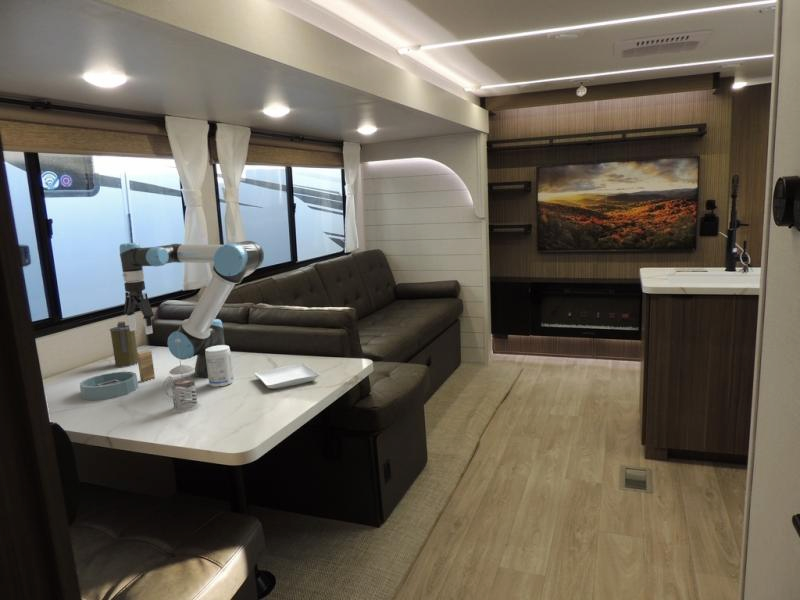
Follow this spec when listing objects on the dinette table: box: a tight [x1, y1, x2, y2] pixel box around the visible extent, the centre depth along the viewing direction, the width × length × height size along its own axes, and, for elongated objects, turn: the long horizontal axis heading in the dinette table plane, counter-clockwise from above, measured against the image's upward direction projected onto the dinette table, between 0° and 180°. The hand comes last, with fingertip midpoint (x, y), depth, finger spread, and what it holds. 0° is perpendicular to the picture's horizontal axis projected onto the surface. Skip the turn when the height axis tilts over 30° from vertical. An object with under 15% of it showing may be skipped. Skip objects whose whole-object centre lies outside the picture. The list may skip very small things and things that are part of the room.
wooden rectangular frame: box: [137, 350, 156, 383], centre depth 242 cm, size 2×5×12 cm, turn 141°
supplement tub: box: [205, 344, 235, 388], centre depth 230 cm, size 10×10×15 cm
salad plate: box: [254, 363, 320, 390], centre depth 230 cm, size 21×21×3 cm
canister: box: [109, 321, 139, 368], centre depth 270 cm, size 11×10×20 cm
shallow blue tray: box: [79, 371, 139, 401], centre depth 230 cm, size 20×20×5 cm
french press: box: [162, 339, 202, 413], centre depth 203 cm, size 10×12×25 cm
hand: (141, 332), depth 240 cm, fingers open, 13 cm apart
